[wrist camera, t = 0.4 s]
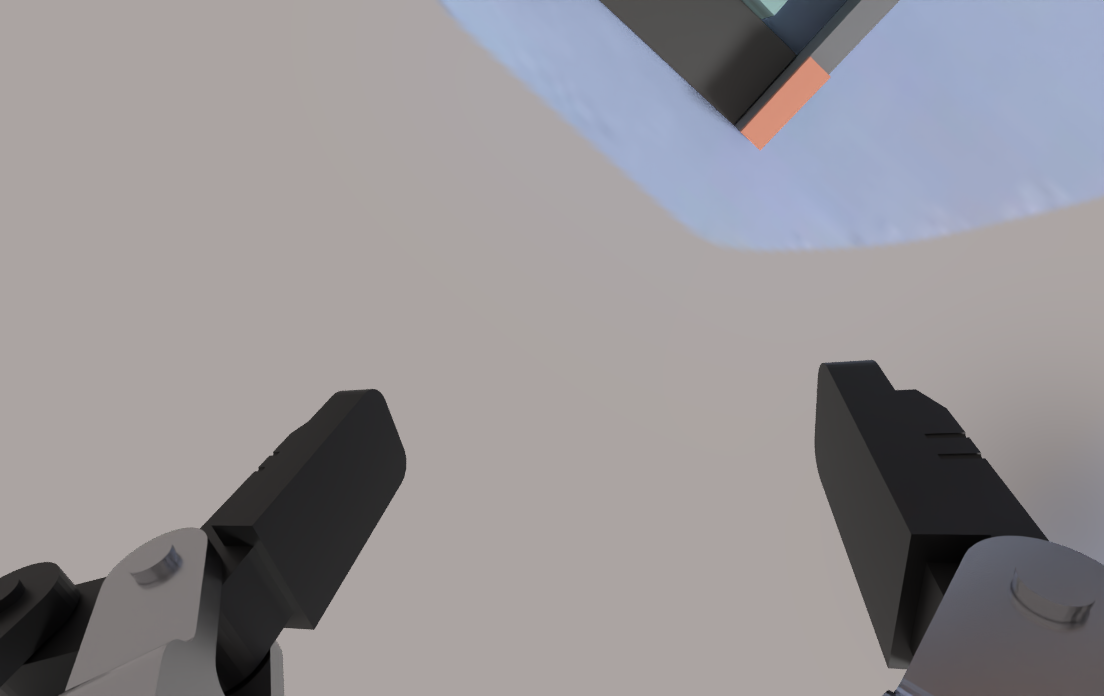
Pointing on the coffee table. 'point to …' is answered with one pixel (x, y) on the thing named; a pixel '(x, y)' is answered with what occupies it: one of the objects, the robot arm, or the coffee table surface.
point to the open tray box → (746, 54)
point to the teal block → (765, 7)
